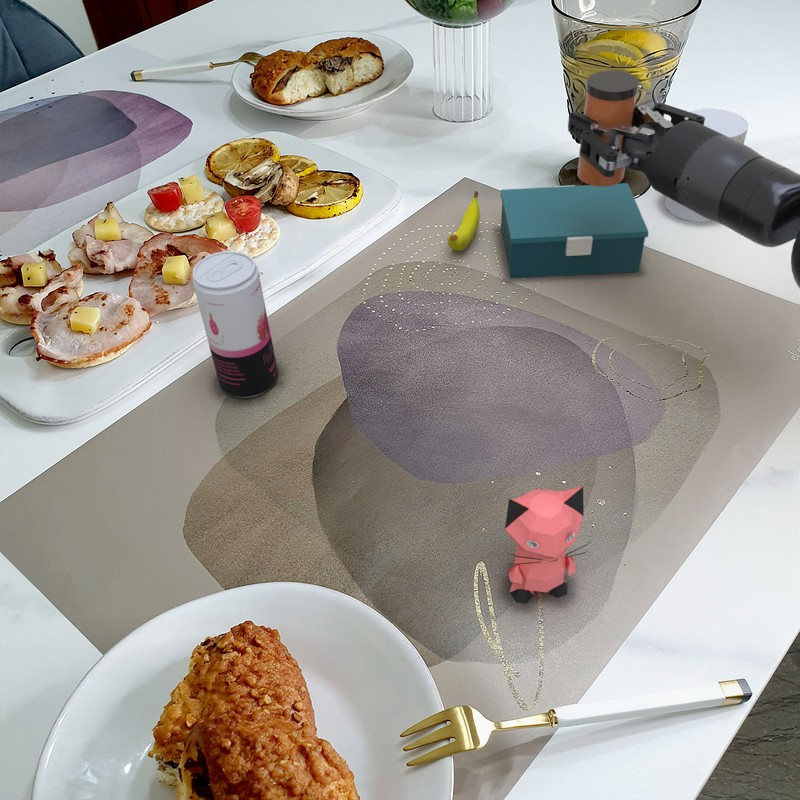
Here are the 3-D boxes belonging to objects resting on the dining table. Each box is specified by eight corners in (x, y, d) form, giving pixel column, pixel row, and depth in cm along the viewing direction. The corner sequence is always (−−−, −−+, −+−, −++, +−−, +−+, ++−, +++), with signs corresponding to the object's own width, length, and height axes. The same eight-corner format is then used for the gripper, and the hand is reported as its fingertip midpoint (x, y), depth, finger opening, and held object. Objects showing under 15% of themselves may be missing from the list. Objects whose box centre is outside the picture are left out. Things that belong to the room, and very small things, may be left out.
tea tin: (618, 162, 100) (632, 68, 92) (629, 185, 96) (644, 90, 88) (572, 165, 100) (582, 71, 92) (581, 188, 96) (592, 93, 88)
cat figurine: (507, 622, 72) (513, 534, 64) (487, 556, 77) (491, 467, 68) (588, 607, 73) (605, 519, 64) (563, 543, 77) (576, 453, 69)
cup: (690, 227, 113) (709, 143, 105) (652, 199, 118) (668, 117, 110) (739, 212, 115) (762, 128, 107) (700, 185, 121) (719, 103, 112)
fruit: (469, 221, 117) (469, 188, 113) (483, 223, 116) (484, 190, 113) (444, 262, 110) (444, 228, 106) (460, 265, 109) (460, 231, 106)
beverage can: (290, 378, 95) (270, 266, 85) (243, 409, 92) (216, 297, 81) (254, 352, 99) (230, 242, 88) (207, 381, 95) (177, 270, 85)
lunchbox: (620, 221, 115) (627, 181, 111) (642, 275, 106) (649, 233, 102) (498, 227, 115) (500, 187, 111) (509, 281, 106) (511, 241, 102)
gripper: (767, 116, 84) (643, 62, 95) (661, 160, 79) (542, 97, 90) (749, 185, 90) (633, 126, 100) (649, 230, 84) (538, 163, 95)
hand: (591, 113), depth 95 cm, fingers closed on tea tin, 5 cm apart
